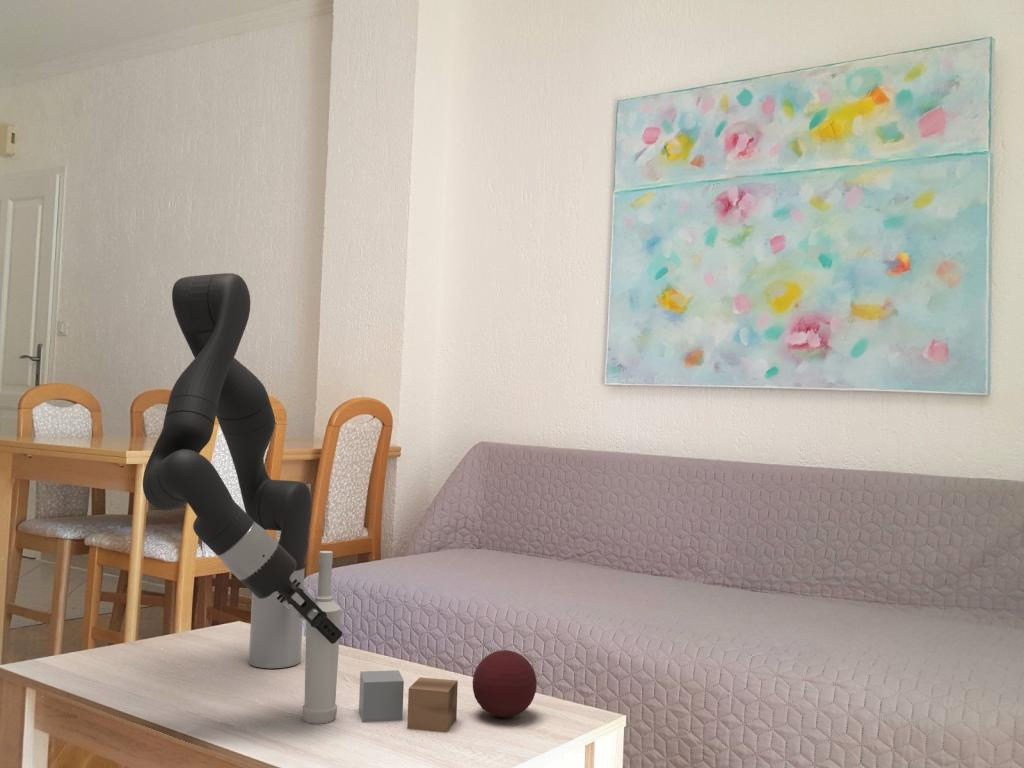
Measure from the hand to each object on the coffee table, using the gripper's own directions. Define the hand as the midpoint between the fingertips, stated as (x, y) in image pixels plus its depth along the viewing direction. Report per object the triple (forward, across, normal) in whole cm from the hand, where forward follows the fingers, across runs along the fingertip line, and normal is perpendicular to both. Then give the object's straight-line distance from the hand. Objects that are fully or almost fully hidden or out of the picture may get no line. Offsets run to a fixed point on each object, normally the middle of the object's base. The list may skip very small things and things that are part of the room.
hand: (330, 632), depth 141 cm
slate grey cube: (+15, -1, +4) cm, 15 cm away
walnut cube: (+19, -8, -1) cm, 21 cm away
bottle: (+8, 0, +10) cm, 13 cm away
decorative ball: (+27, -8, -9) cm, 30 cm away
